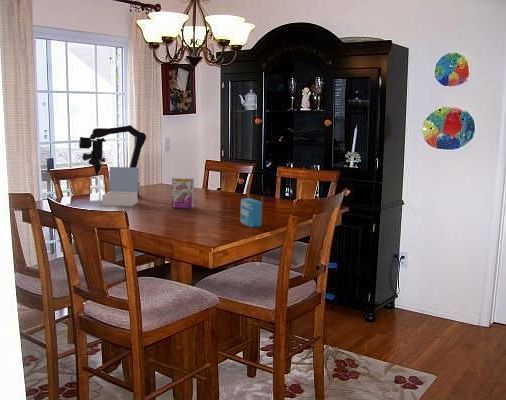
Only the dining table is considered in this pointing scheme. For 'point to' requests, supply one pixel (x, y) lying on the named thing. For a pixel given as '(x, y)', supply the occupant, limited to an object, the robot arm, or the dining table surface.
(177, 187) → the candy bar box
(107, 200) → the storage box
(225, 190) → the dining table surface
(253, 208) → the data package
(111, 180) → the lid
